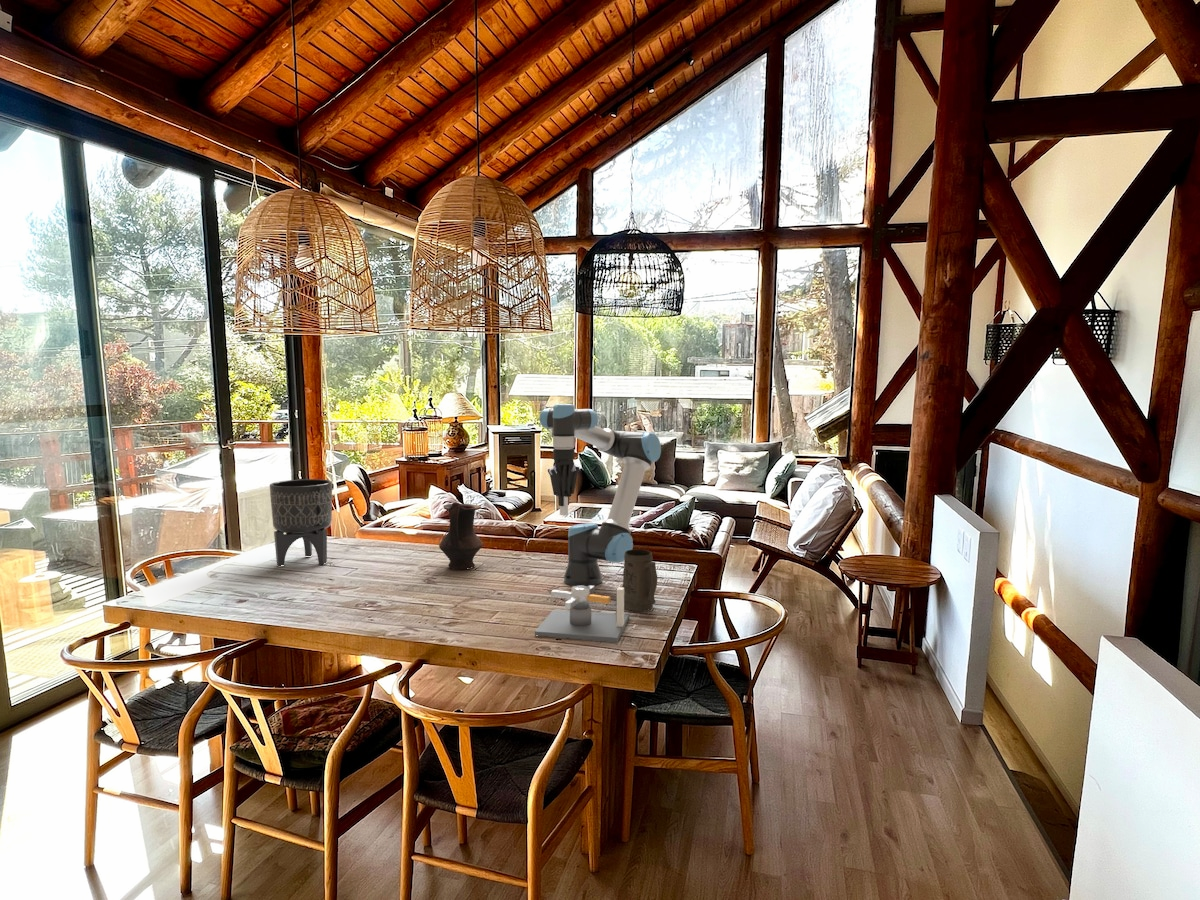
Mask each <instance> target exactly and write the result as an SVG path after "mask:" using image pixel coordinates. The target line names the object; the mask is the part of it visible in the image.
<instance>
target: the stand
mask: <svg viewBox="0 0 1200 900" xmlns="http://www.w3.org/2000/svg"><path fill="white" fill-rule="evenodd" d="M615 593H616V594H615V595H616V596H615V597H616V599H615V613H614V612H599V611H592V606H591V605H590V607H589V608H587V609H574V608H571V609H559V608H554V609H552V611H551V612H550V613H549V614H548V615H547V616H546V618H545V619H544V620H543V621H542V622H541V624H540V625H539V626H538V627H537V628H536V629H535V631H534V636H535V637H540V636H548V637H547V638H553V637H559V638H558V639H566V638H570V639H569V640H579V639H582V641H591V640H592V641H594V642H606V643H618V642H619V639H620V638H621V636H622V634H623V632H624V630H625V628H626V626H627V623H628V622H629V619H630V615H629V613H628V614H627V613H625V608H624V588H623V586H622V587H621V586H618V587H617V589H616V592H615ZM536 635H538V636H536ZM560 637H561V638H560Z"/></svg>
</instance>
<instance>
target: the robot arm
mask: <svg viewBox="0 0 1200 900" xmlns="http://www.w3.org/2000/svg"><path fill="white" fill-rule="evenodd" d="M598 417H599V416H598V414H597V412H596V411H595V410H593V409H591V408H575V405H574V404H572V403H555V404H554V405H553V407H549V408H544V409H543V410H542V411H541V412H540V413H539V423H540V425H541V427H542V428H544V429H548V430H549V429H552V447H553V449H552V459H553V461H554V462H553V464H552V465H553V466H552V467H551V468H548V469H547V473H548V474H549V477H550V478H549V479H550V482H551V487H552V494H553V495H554V496H556V497H557V498H558V503H557V504H558V506H559V515H560V516H569V506H570V497H572V495H574V493H575V490H576V489H575V488H576V485H577V484H576V483H577V479H578V473H579V471H580V466H576V465H575V462H574V460H575V457H576V456H575V454H576V453H575V438H576V439H578V440H581V441H583V442H585V443H587V444H590V445H593V446H595V448H596V449H597V450H598V451H599V452H603V453H604V454H608V455H610V456H612V457H615V458H617V459H621V460H622V462H623V464H624V465H623V469H622V472H621V476H620V479H619V482H618V485H617V488H616V491H615V494H614V497H613V500H612V503H611V507H610V510H609V513H608V517H607V520H604V521H603V522H602V523H601V526H600V528H599V526H598V523H594V522H588V523H577V524H574V525H573V524H572V525H570V527H569V528H568V536H567V539H568V540H567V543H568V544H567V546H568V547H567V548H568V550H567V551H568V554H567V555H568V559H567V560H568V564H567V566H566V570H565V573H564V575H563V582H564V584H566V585H568V584H569V586H572V585H573V586H579V585H583V586H590V585H591V586H597V585H599V584H602V582H603V576H602V571H601V569H600V565H599V563H598V560H601V561H605V562H609V563H624V555H625V552H626V551H628V550H633V547H634V543H633V537H632V535H631V530H630V526H629V525H630V522H631V519H632V515H633V512H634V509H635V505H636V504H637V499H638V496H639V493H640V489H641V486H642V483H643V478H644V476H645V472H646V471H647V470H650V469H651V466H652V463H655V462H658V460H659V459H660V457H661V454H662V446H661V440H660V438H659V437H658V435H657V434H655V433H654V432H648V431H633V430H632V431H630V430H629V431H627V430H615V429H611V428H607V427H606V428H602V427H600V426H597V424H598V420H599V419H598ZM573 586H572V587H573Z"/></svg>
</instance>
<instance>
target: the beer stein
mask: <svg viewBox="0 0 1200 900" xmlns="http://www.w3.org/2000/svg"><path fill="white" fill-rule="evenodd" d="M653 558H654V557H653V553H652V552H651V551H650V550H646V549H637V548H635V549H633V548H632V550H628V551H626V552H625V555H624V561H623V563H624V565H623V566H624V567H623V574H622V576H623V577H622V578H623V579H622V587H623V588H624V610H627V611H631V610H632V612H644V610H646V611H649V610H652V608H654V607H653V606H654V605H655V604H656V599H655V594H656V590H657V586H658V573H657V568H656V567H657V566H656V564H657V563H656V562H655V561H653V560H654V559H653ZM648 609H649V610H648Z"/></svg>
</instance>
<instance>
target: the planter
mask: <svg viewBox="0 0 1200 900" xmlns="http://www.w3.org/2000/svg"><path fill="white" fill-rule="evenodd" d="M269 494H270V495H269V497H270V506H271V517H272V519H271V520H272V526H273V529H274V530H275V531H273V535H274V547H275V559H276V566H277V565H278V566H281V565H284V566H285V560H286V556H287V553H288V551H289V548H290V547H291V545H292V544H294V542H296V541H297V540H299V539H302V542H303V545H304V557H305V556H311V555H312V556H313V547H314V550H315V552H316V555H317V561H318V565H319V564H324V563H326V562H327V563H328V557H327V556H328V555H327V553H328V549H327V548H328V529H327V528H329V527H330V526H331V524H332V519H333V518H332V516H333V513H332V511H333V510H332V509H333V481H331V480H329V479H321V478H320V479H319V478H307V479H306V478H304V479H291V480H290V479H289V480H281V481H274V482H271V483H270V484H269ZM284 533H285V534H284ZM278 566H277V567H278Z"/></svg>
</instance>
